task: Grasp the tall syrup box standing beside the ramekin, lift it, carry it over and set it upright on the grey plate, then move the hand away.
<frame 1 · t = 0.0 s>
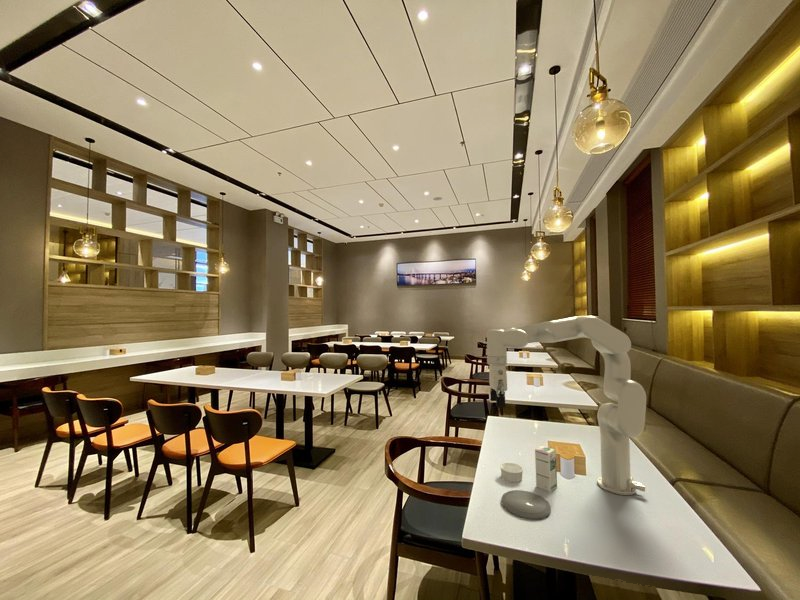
hand: (497, 403, 131), 31 cm above the table, tool pointing down, fingers open, 9 cm apart
ramekin: (511, 478, 135), on the table
syrup box: (546, 487, 128), on the table
grey plate: (525, 505, 115), on the table
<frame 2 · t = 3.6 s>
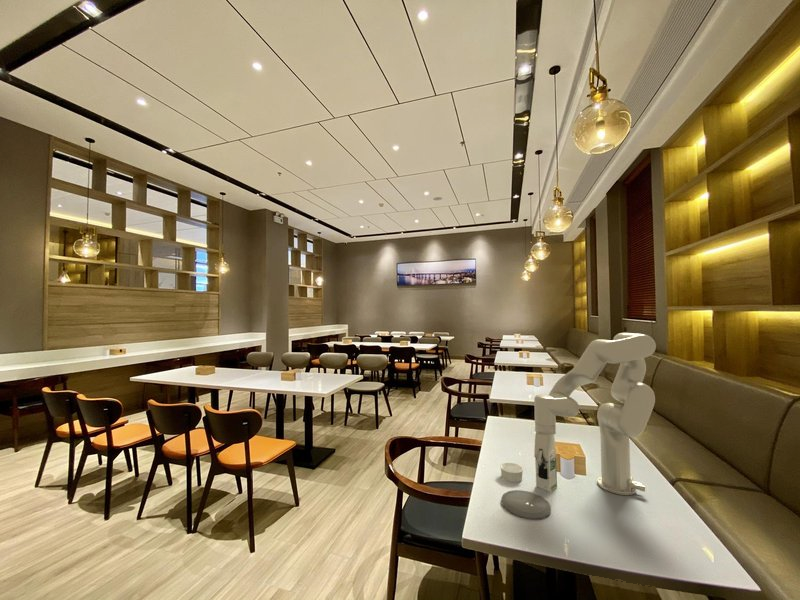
hand: (546, 474, 128), 5 cm above the table, tool pointing down, fingers closed on syrup box, 6 cm apart
syrup box: (546, 487, 128), on the table, touching gripper
everything else where it was.
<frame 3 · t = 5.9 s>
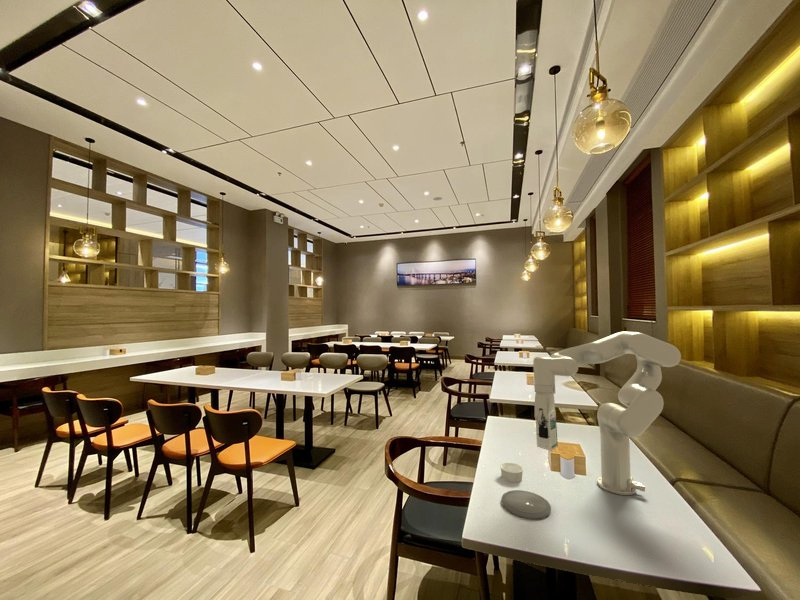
hand: (546, 434, 129), 20 cm above the table, tool pointing down, fingers closed on syrup box, 6 cm apart
syrup box: (547, 447, 128), point 15 cm above the table, touching gripper
everything else where it was.
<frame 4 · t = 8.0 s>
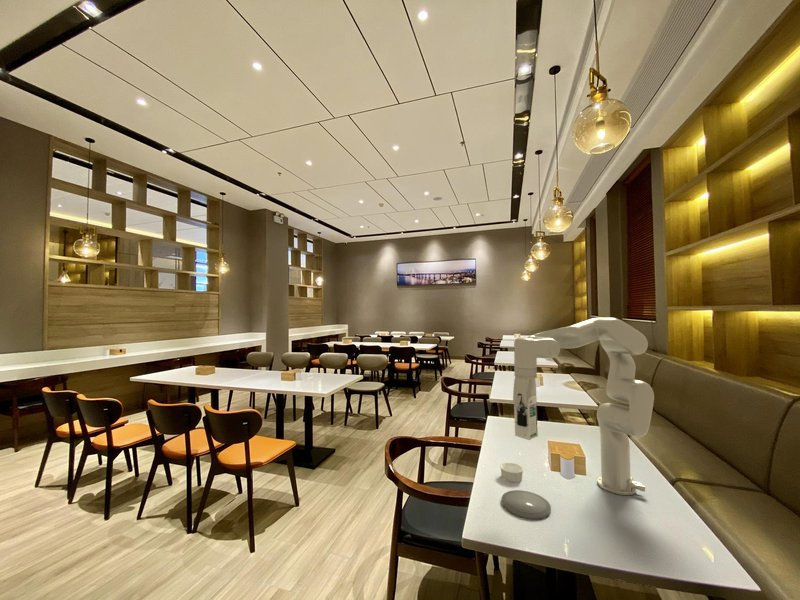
hand: (525, 423, 118), 28 cm above the table, tool pointing down, fingers closed on syrup box, 6 cm apart
syrup box: (525, 436, 117), point 23 cm above the table, touching gripper
everything else where it was.
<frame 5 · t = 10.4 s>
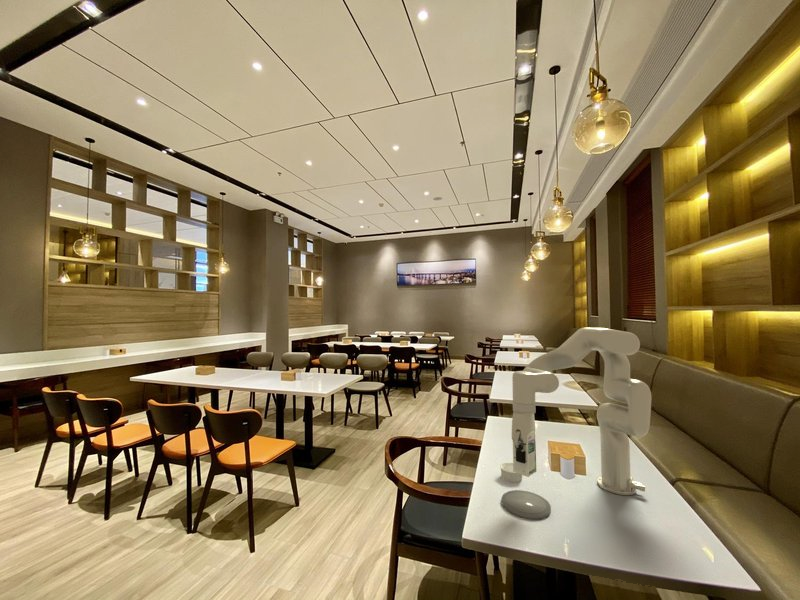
hand: (524, 458, 116), 16 cm above the table, tool pointing down, fingers closed on syrup box, 6 cm apart
syrup box: (524, 472, 116), point 11 cm above the table, touching gripper
everything else where it was.
when the fingers open (7 cm above the table, at t = 12.6 s): syrup box drops 1 cm, resting on grey plate.
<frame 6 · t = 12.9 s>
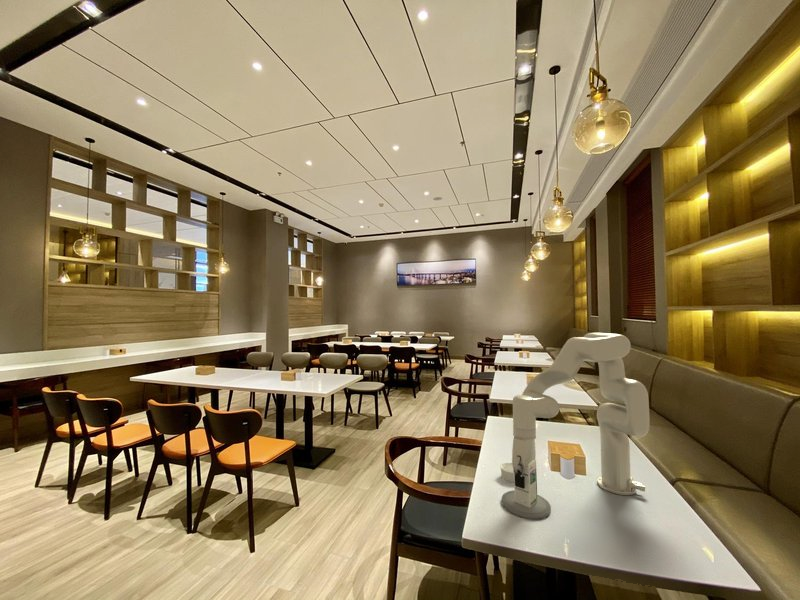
hand: (525, 481, 115), 8 cm above the table, tool pointing down, fingers open, 9 cm apart
syrup box: (525, 502, 115), point 1 cm above the table, touching grey plate
everything else where it was.
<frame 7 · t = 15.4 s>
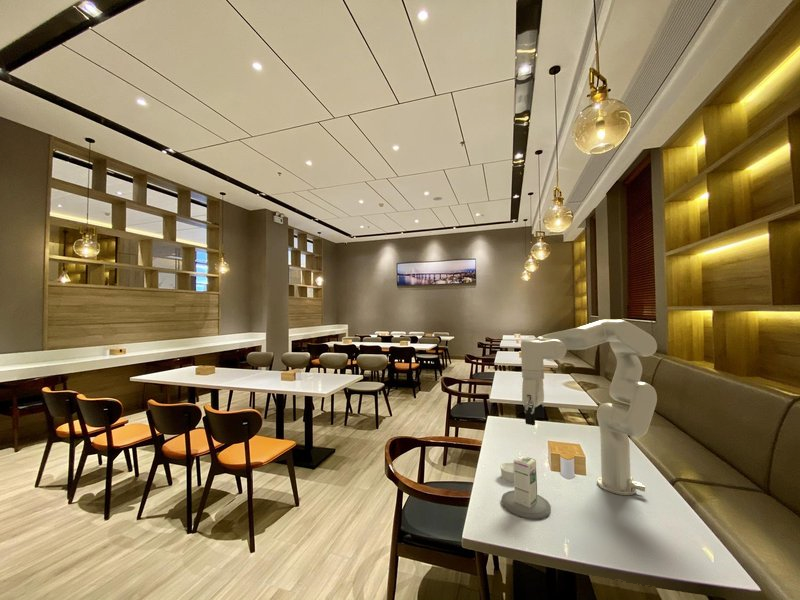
hand: (535, 420, 121), 28 cm above the table, tool pointing down, fingers open, 9 cm apart
nothing on the table moved.
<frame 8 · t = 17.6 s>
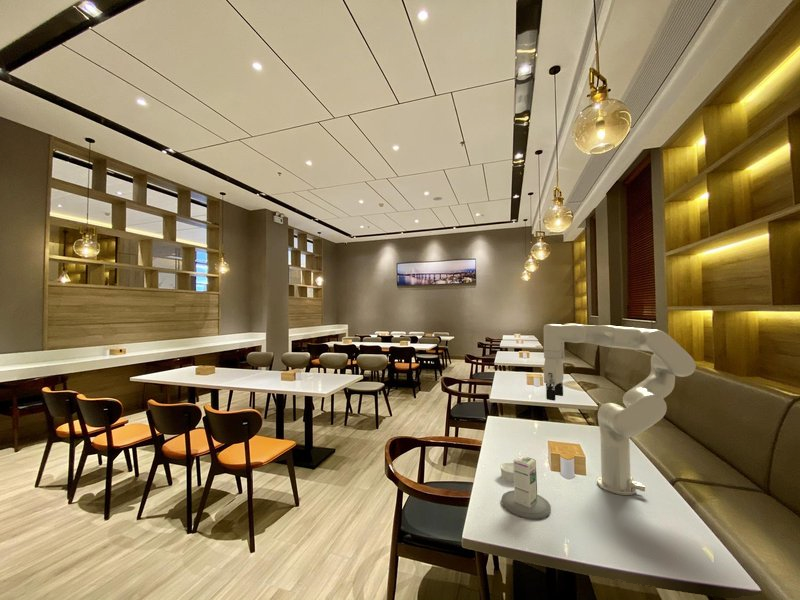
hand: (555, 397, 132), 33 cm above the table, tool pointing down, fingers open, 9 cm apart
nothing on the table moved.
at the end: syrup box inside the target area on the grey plate (0.1 cm from its centre), point 1.0 cm above the grey plate's base; syrup box tilted 0°; the gripper is holding nothing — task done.
